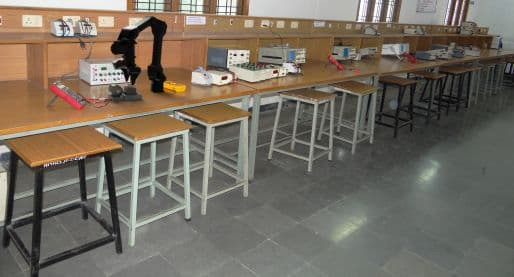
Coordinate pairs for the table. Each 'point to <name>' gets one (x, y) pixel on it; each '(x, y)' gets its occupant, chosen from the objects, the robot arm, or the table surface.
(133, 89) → the pump block
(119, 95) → the motor mount
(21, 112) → the table surface
